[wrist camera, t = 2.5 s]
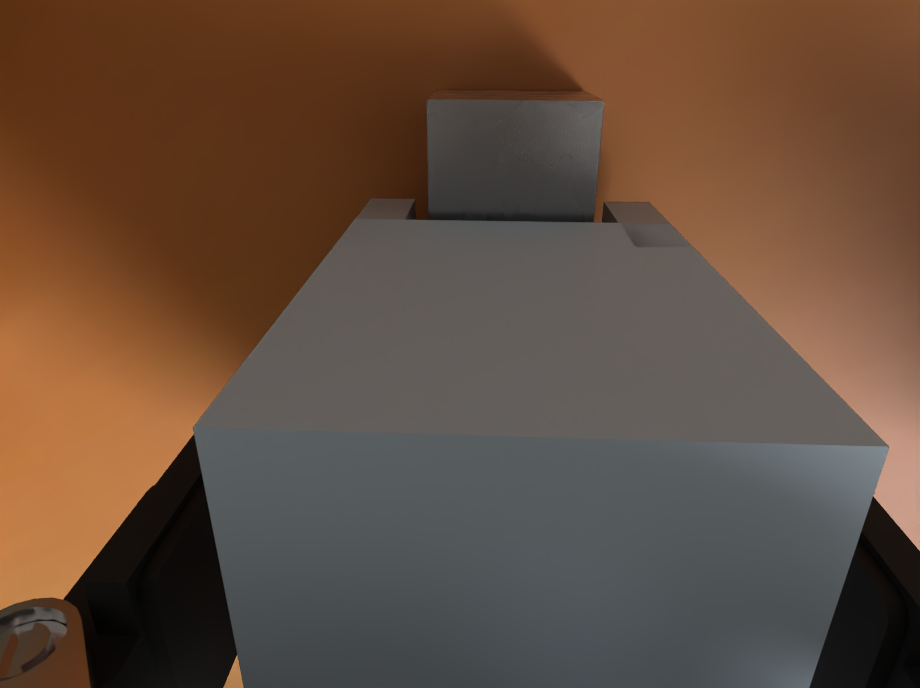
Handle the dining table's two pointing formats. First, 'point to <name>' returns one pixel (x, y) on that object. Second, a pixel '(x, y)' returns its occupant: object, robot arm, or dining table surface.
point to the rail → (513, 155)
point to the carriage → (530, 468)
